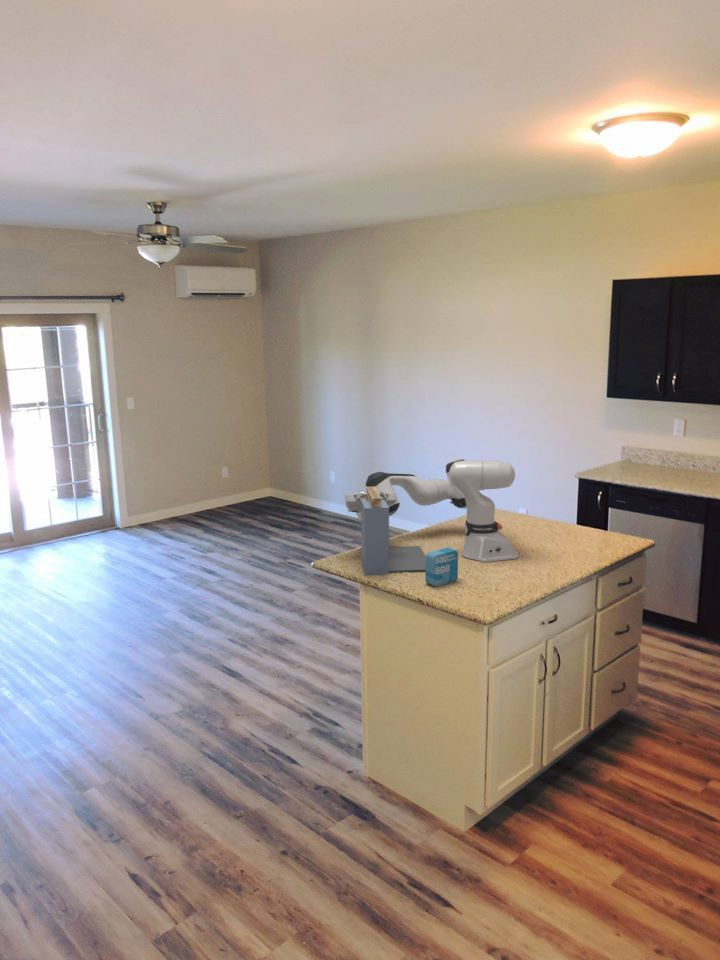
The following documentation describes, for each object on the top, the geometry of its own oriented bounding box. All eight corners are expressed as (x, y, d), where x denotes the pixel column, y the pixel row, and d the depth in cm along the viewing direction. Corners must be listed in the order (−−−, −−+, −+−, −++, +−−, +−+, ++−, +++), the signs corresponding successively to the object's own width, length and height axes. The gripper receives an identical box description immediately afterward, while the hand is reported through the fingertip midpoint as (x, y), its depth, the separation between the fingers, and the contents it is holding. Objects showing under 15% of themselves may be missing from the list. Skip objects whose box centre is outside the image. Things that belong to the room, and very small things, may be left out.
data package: (433, 587, 268) (433, 555, 266) (425, 584, 272) (425, 552, 269) (457, 580, 275) (458, 549, 272) (449, 577, 279) (450, 546, 276)
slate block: (384, 564, 293) (384, 500, 288) (388, 574, 282) (389, 507, 276) (361, 565, 292) (361, 500, 287) (364, 575, 281) (364, 508, 275)
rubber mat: (419, 548, 314) (419, 545, 314) (433, 571, 285) (433, 569, 285) (379, 549, 312) (379, 547, 312) (389, 573, 283) (389, 570, 283)
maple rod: (374, 495, 296) (374, 486, 295) (381, 507, 276) (381, 498, 276) (366, 495, 296) (366, 486, 295) (372, 507, 276) (372, 498, 275)
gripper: (395, 510, 302) (399, 500, 289) (344, 511, 300) (346, 502, 287) (393, 495, 304) (398, 485, 291) (343, 496, 302) (346, 486, 289)
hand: (372, 493), depth 289 cm, fingers open, 7 cm apart
